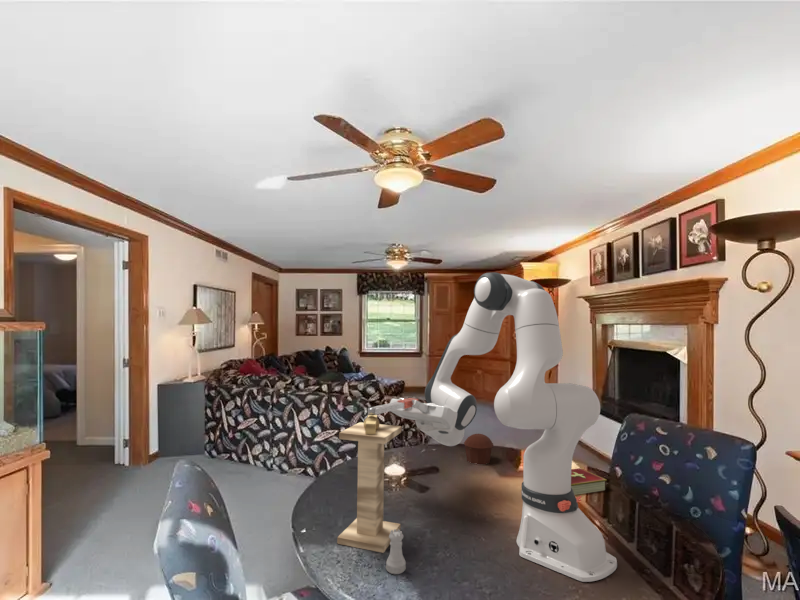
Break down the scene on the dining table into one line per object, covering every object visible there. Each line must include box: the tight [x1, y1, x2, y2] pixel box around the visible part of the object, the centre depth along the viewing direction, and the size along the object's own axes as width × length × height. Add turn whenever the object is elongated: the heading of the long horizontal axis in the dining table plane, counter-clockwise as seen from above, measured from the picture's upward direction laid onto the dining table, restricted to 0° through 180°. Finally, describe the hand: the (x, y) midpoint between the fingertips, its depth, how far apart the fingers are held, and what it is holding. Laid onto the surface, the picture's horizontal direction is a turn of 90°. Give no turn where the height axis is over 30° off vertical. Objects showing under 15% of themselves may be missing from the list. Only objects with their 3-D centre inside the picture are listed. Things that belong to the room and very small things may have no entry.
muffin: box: [463, 433, 494, 465], centre depth 171 cm, size 12×11×10 cm
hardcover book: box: [571, 467, 608, 496], centre depth 144 cm, size 12×21×4 cm, turn 110°
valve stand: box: [336, 414, 403, 554], centre depth 111 cm, size 12×12×30 cm
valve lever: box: [367, 397, 419, 416], centre depth 118 cm, size 19×3×2 cm, turn 141°
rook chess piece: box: [385, 529, 407, 575], centre depth 96 cm, size 4×4×8 cm
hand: (406, 401), depth 123 cm, fingers open, 3 cm apart
